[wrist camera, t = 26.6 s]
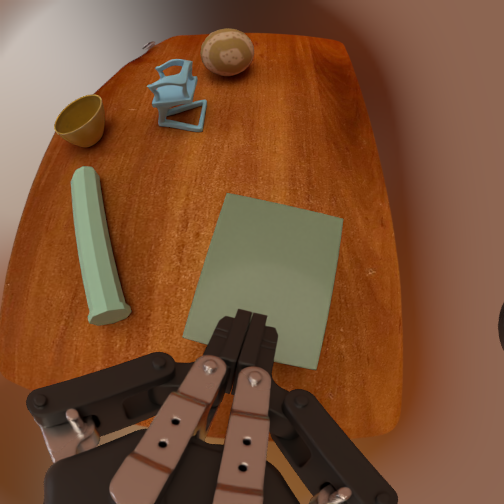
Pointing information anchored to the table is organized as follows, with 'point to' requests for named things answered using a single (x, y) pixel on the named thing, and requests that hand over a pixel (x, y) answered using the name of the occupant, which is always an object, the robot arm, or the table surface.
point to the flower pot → (82, 121)
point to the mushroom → (227, 52)
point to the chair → (176, 95)
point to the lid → (270, 274)
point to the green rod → (96, 250)
